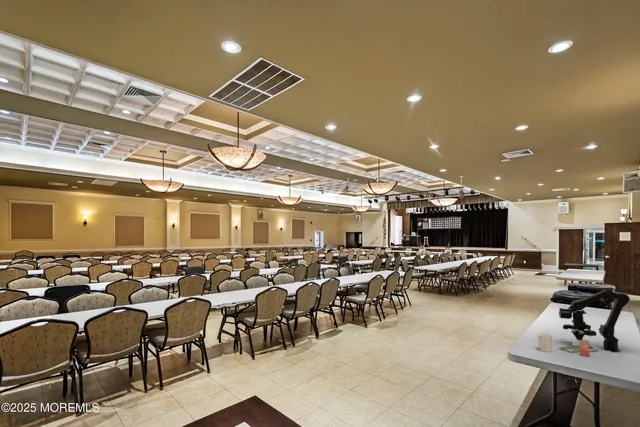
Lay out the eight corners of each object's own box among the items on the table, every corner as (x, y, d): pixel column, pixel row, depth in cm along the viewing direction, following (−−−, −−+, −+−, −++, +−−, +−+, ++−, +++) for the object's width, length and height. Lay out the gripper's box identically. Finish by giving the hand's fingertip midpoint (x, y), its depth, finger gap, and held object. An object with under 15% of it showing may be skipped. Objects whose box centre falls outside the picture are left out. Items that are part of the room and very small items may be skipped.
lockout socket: (584, 351, 206) (583, 349, 206) (571, 353, 204) (571, 351, 204) (571, 347, 214) (571, 345, 214) (559, 348, 211) (559, 347, 212)
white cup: (547, 348, 213) (546, 333, 214) (556, 352, 205) (555, 336, 206) (535, 348, 213) (534, 333, 214) (544, 352, 205) (543, 336, 206)
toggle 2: (588, 346, 212) (588, 340, 212) (585, 346, 211) (584, 341, 212) (583, 344, 215) (583, 339, 215) (580, 345, 214) (580, 339, 215)
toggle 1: (580, 346, 213) (580, 340, 213) (576, 346, 212) (576, 341, 212) (575, 344, 216) (575, 339, 216) (572, 344, 215) (572, 339, 215)
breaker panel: (598, 351, 207) (598, 349, 207) (587, 352, 205) (586, 350, 205) (580, 345, 218) (580, 343, 218) (570, 346, 215) (569, 345, 216)
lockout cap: (592, 356, 197) (591, 346, 198) (586, 357, 196) (585, 346, 197) (583, 353, 202) (583, 343, 203) (578, 354, 201) (577, 344, 202)
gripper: (601, 322, 210) (603, 346, 209) (573, 315, 228) (575, 337, 227) (589, 323, 208) (590, 347, 206) (561, 316, 226) (563, 338, 225)
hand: (579, 342), depth 216 cm, fingers closed
